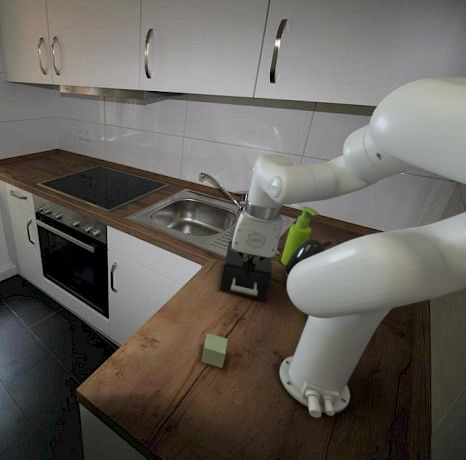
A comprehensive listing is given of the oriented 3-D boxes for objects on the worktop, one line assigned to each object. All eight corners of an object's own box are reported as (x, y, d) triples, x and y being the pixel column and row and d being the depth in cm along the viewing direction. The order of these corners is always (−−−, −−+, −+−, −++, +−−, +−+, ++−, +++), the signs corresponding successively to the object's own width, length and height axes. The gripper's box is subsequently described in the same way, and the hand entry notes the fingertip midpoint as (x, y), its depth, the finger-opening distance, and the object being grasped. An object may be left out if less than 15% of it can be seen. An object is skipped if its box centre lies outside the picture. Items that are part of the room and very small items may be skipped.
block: (222, 368, 68) (225, 354, 66) (201, 361, 70) (204, 347, 68) (224, 352, 72) (227, 338, 70) (204, 346, 74) (207, 332, 71)
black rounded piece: (328, 292, 91) (346, 247, 84) (296, 296, 90) (312, 250, 83) (305, 272, 100) (319, 230, 93) (275, 275, 99) (287, 232, 92)
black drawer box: (263, 300, 88) (271, 272, 84) (219, 290, 92) (224, 262, 88) (264, 274, 99) (271, 248, 95) (224, 265, 103) (229, 240, 99)
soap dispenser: (291, 270, 101) (309, 214, 92) (276, 258, 107) (292, 205, 98) (306, 267, 102) (325, 212, 93) (291, 256, 108) (307, 203, 99)
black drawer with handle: (262, 311, 83) (268, 288, 79) (219, 301, 86) (224, 278, 83) (262, 275, 97) (268, 254, 93) (226, 267, 101) (230, 246, 97)
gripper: (227, 209, 73) (215, 273, 81) (299, 221, 68) (278, 288, 76) (231, 198, 79) (219, 259, 87) (297, 208, 74) (277, 271, 83)
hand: (246, 272), depth 82 cm, fingers closed
